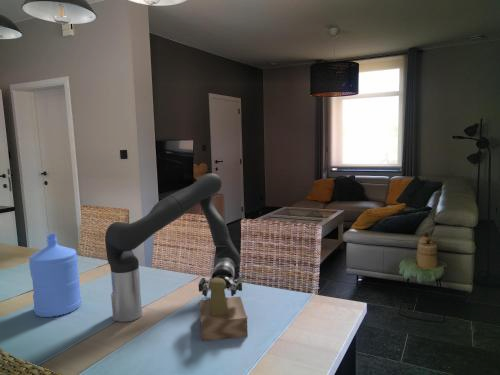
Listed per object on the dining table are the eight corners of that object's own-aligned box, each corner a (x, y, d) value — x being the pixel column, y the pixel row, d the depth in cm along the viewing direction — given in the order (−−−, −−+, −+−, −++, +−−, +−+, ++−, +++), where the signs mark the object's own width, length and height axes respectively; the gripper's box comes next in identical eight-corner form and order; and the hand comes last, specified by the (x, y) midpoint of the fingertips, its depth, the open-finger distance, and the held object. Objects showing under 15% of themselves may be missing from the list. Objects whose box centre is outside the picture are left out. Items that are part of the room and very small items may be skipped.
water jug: (91, 303, 141) (84, 231, 138) (54, 321, 127) (46, 242, 123) (62, 297, 148) (56, 228, 144) (24, 314, 134) (16, 238, 130)
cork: (225, 318, 113) (224, 283, 112) (206, 316, 114) (205, 282, 113) (230, 309, 119) (229, 276, 118) (212, 308, 120) (211, 275, 119)
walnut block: (201, 341, 112) (200, 322, 111) (200, 316, 127) (199, 300, 127) (247, 336, 114) (247, 317, 113) (240, 312, 129) (240, 296, 129)
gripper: (203, 264, 131) (195, 282, 115) (243, 264, 131) (241, 281, 115) (204, 285, 132) (196, 305, 116) (243, 284, 132) (241, 304, 116)
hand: (218, 293), depth 115 cm, fingers open, 8 cm apart
